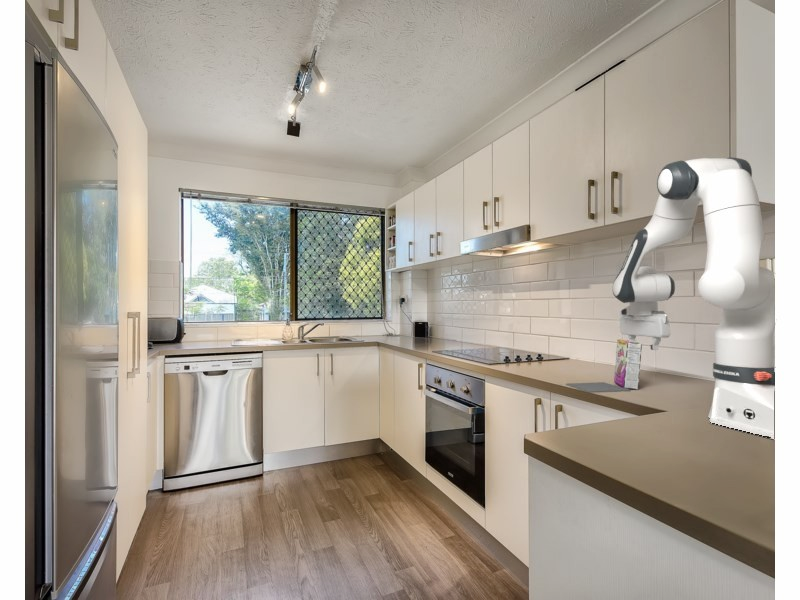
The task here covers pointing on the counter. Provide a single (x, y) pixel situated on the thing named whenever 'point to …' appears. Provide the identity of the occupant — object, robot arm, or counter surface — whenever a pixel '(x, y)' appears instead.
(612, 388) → the mat
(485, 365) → the counter surface
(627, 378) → the candy bar box
